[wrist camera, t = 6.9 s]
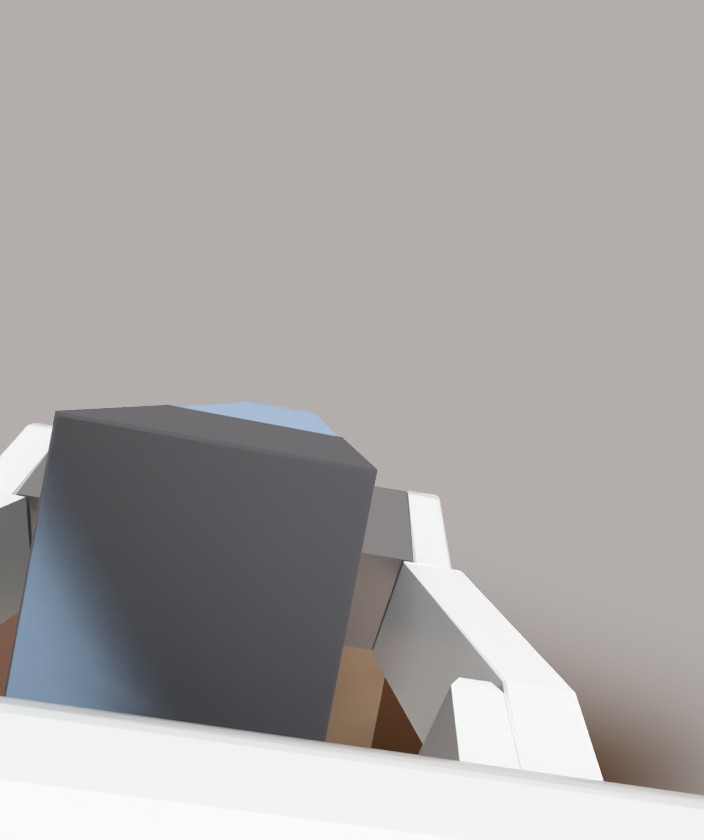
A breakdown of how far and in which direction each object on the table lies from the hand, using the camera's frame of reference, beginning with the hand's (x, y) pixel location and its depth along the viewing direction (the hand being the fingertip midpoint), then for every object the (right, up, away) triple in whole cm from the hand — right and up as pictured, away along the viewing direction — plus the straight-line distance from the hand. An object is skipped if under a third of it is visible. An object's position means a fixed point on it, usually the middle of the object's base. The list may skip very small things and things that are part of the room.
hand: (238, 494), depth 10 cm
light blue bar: (-1, -2, +8) cm, 8 cm away
